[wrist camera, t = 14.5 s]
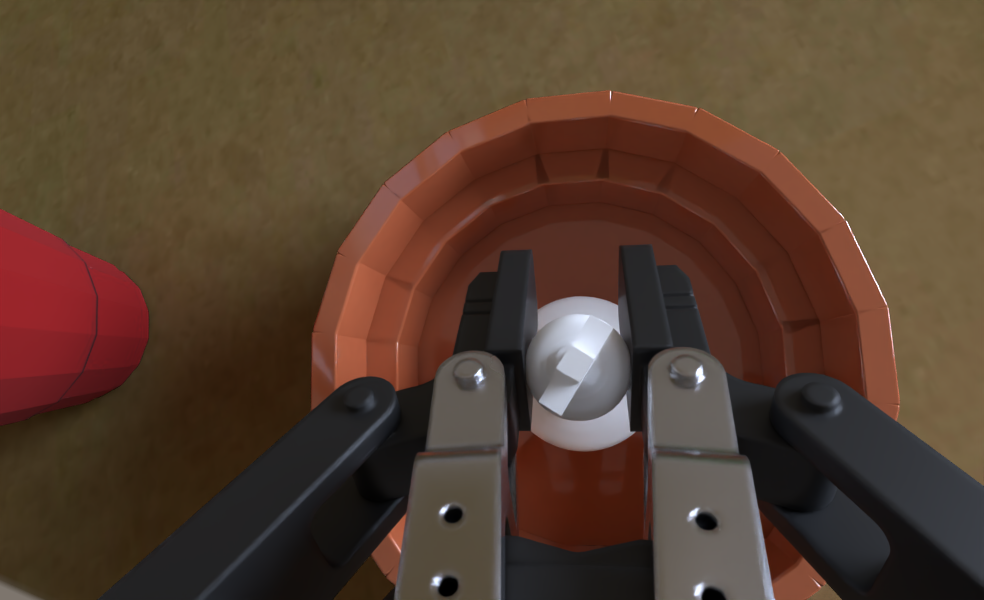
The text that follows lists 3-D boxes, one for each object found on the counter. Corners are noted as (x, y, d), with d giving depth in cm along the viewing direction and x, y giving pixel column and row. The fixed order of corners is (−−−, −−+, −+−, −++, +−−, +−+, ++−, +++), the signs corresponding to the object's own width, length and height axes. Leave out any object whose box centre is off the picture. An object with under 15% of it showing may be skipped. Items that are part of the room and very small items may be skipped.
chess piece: (689, 346, 18) (805, 306, 9) (609, 482, 18) (636, 598, 8) (554, 269, 19) (521, 157, 10) (477, 397, 19) (364, 415, 9)
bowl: (325, 510, 22) (241, 553, 17) (443, 123, 23) (399, 47, 18) (751, 665, 19) (816, 778, 14) (860, 214, 20) (958, 156, 15)
